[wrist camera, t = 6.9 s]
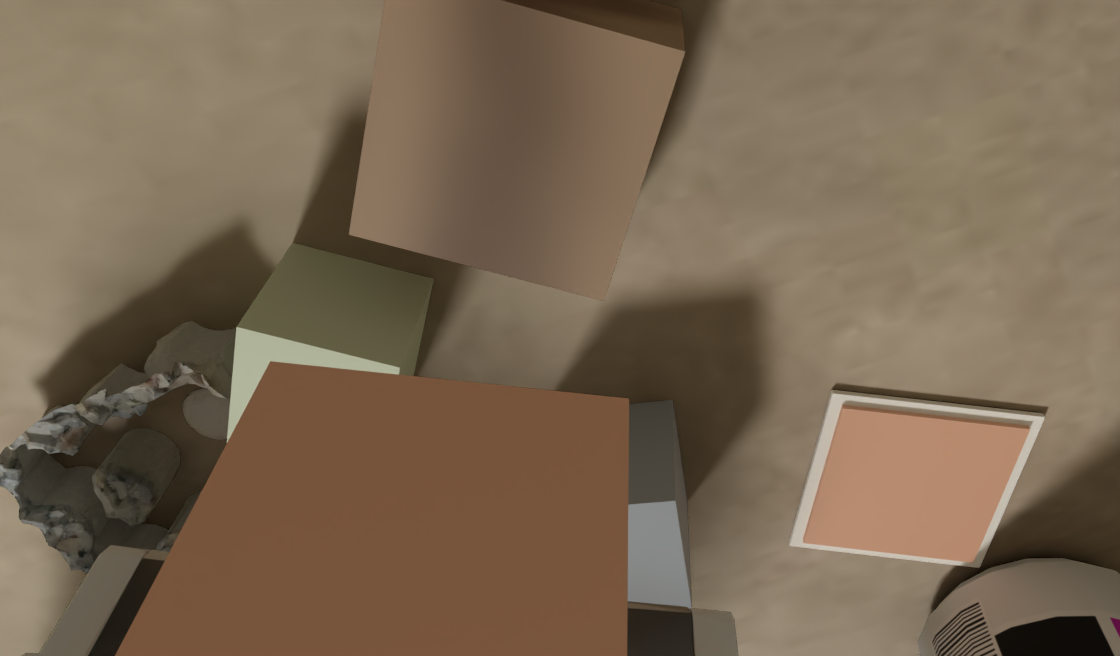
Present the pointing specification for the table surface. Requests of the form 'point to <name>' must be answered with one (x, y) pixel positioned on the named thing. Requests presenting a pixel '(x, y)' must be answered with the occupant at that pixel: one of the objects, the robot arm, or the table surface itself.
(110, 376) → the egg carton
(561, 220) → the walnut base block
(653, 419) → the slate grey cube
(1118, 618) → the supplement can
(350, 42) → the table surface
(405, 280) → the sage cube
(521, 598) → the terracotta cube
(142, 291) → the table surface
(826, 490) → the terracotta swatch
